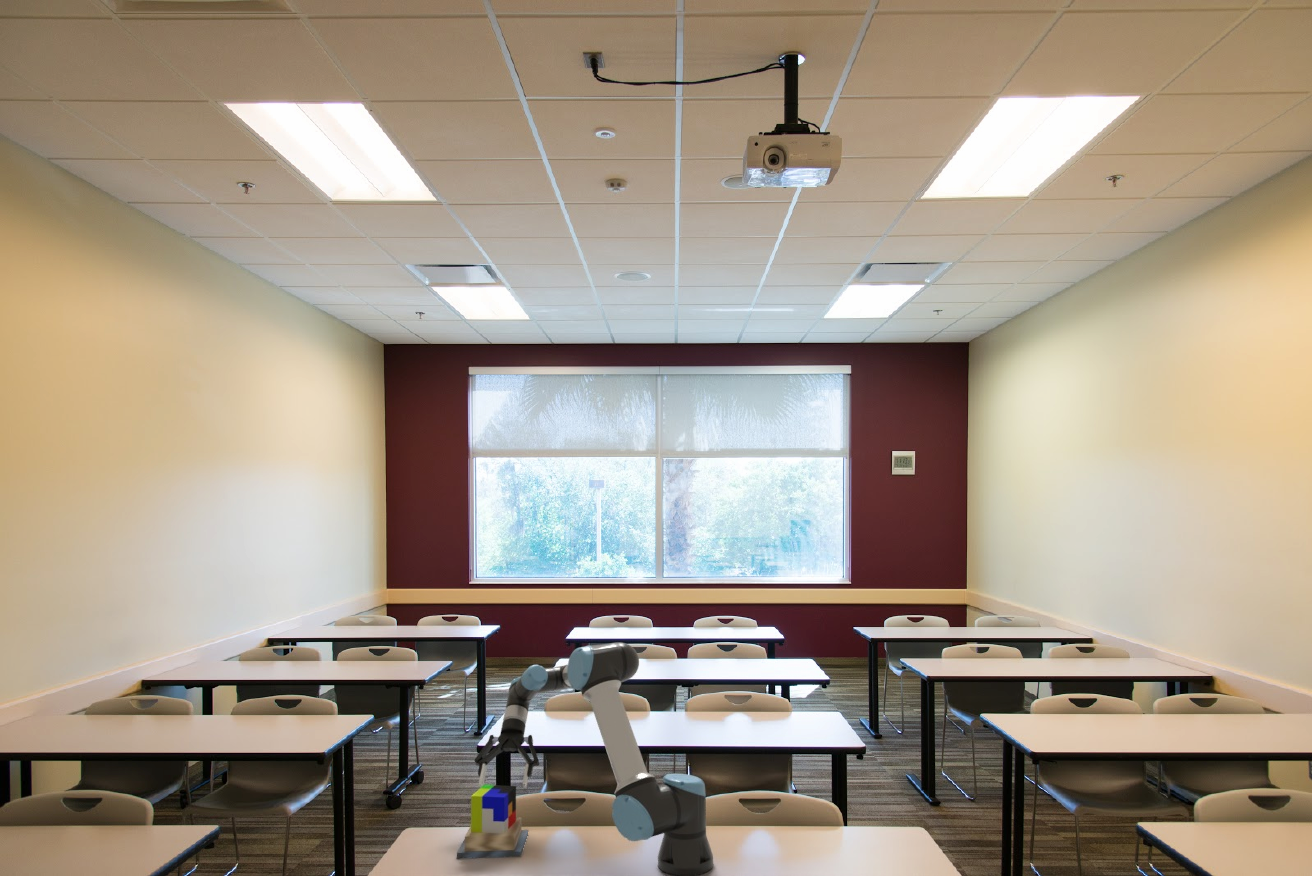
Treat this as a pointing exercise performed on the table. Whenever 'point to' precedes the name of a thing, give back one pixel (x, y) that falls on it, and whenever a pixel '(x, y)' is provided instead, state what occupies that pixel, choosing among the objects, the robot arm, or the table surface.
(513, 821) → the puzzle toy
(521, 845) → the foundation block
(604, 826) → the table surface
